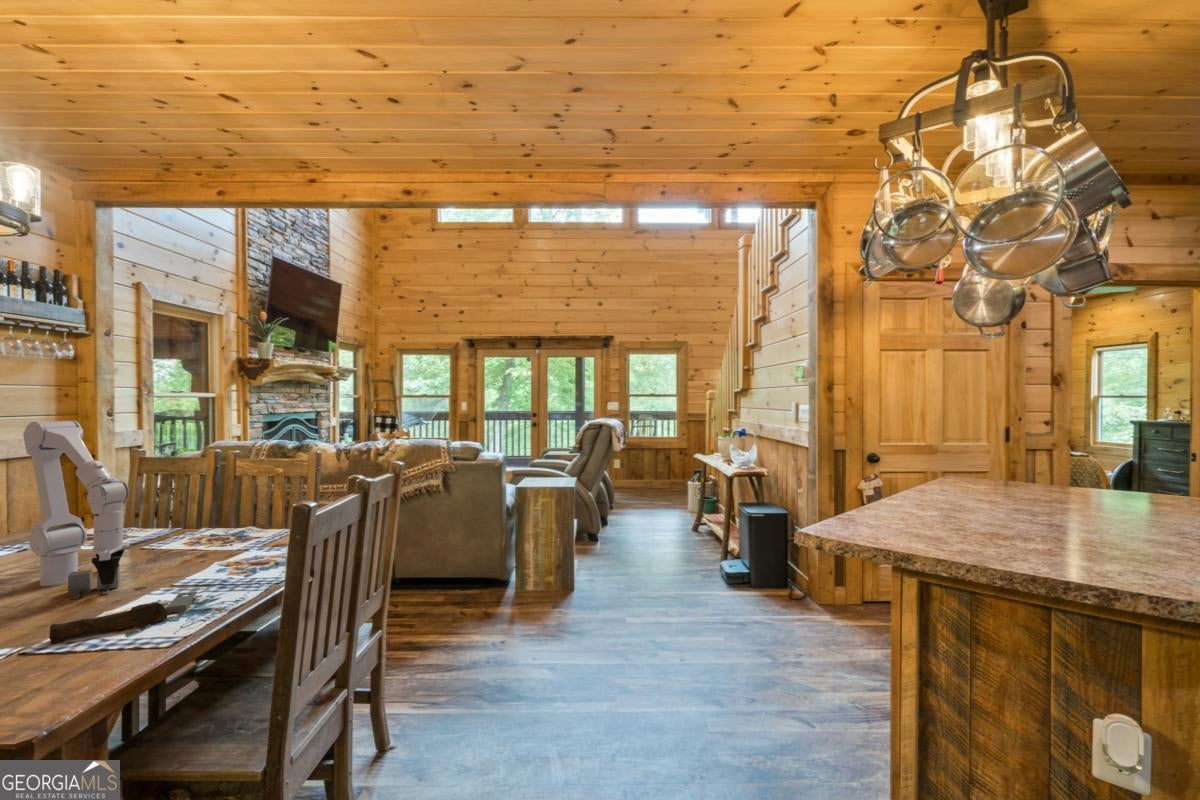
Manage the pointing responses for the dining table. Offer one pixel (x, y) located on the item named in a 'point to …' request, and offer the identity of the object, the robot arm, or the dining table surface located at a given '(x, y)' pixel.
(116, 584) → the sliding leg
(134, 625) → the hand tool
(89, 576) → the fixed leg
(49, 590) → the dining table surface
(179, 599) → the bracket
